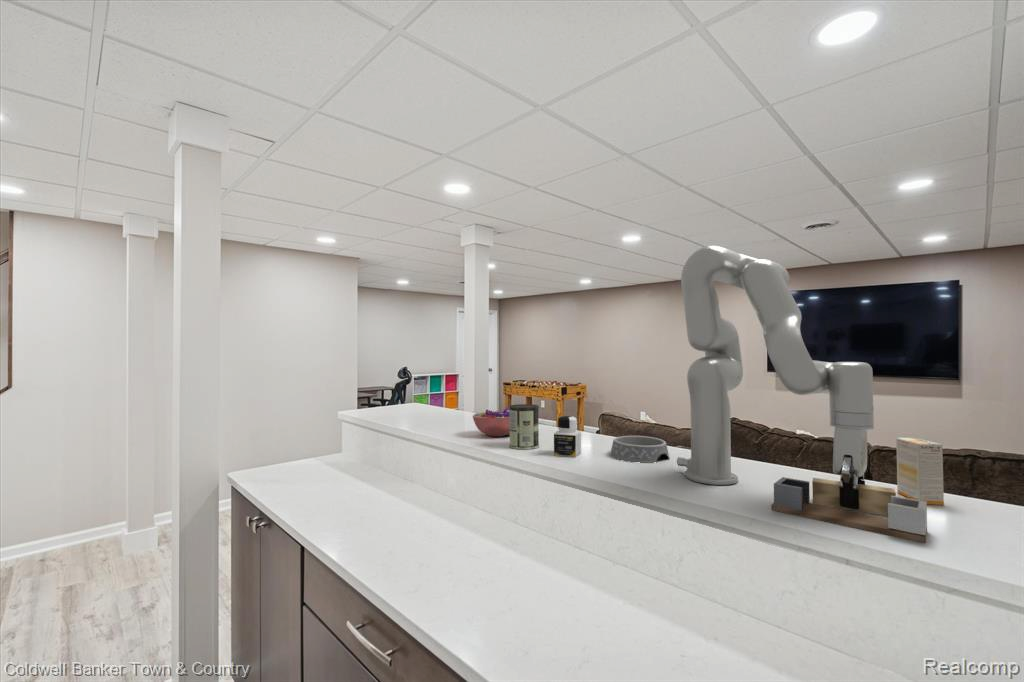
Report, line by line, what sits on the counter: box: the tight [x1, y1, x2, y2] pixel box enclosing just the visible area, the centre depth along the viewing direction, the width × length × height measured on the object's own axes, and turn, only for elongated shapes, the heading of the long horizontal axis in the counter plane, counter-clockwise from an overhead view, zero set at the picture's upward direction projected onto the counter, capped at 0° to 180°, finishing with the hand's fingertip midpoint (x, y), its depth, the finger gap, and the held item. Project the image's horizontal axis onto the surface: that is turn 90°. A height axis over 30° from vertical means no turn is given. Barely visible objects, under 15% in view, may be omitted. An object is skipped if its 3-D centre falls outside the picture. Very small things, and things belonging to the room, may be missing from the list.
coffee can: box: [508, 403, 540, 451], centre depth 160 cm, size 10×10×14 cm
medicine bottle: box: [553, 415, 582, 458], centre depth 148 cm, size 7×7×12 cm
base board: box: [770, 502, 928, 544], centre depth 91 cm, size 24×7×1 cm, turn 46°
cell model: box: [472, 405, 510, 437], centre depth 180 cm, size 17×20×11 cm
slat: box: [811, 477, 897, 517], centre depth 98 cm, size 14×4×5 cm, turn 55°
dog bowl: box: [609, 435, 671, 464], centre depth 145 cm, size 17×18×5 cm
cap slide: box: [887, 495, 928, 535], centre depth 84 cm, size 5×7×4 cm
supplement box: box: [895, 437, 945, 506], centre depth 104 cm, size 8×5×13 cm, turn 168°
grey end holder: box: [773, 476, 811, 511], centre depth 97 cm, size 5×7×4 cm
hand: (852, 502), depth 98 cm, fingers open, 8 cm apart
